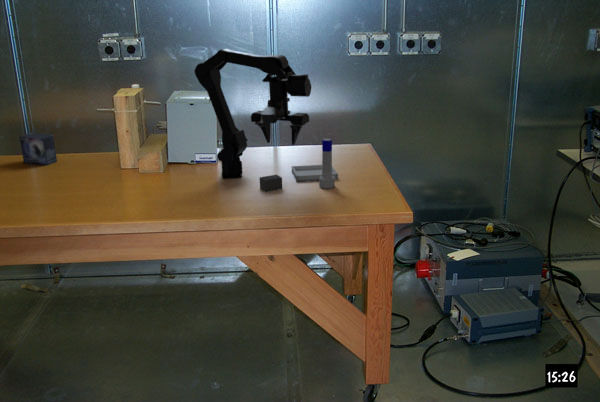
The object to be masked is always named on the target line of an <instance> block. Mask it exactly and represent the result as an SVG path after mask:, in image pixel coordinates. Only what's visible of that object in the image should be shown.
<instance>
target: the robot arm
mask: <svg viewBox="0 0 600 402" xmlns="http://www.w3.org/2000/svg"><path fill="white" fill-rule="evenodd" d="M227 64H234V65H239V66H244V67H249V68H255V69H258V70H259V71H261V72H263V73H265V74H266V75H265V77H264V78H263V79H262V82H263V83H268V88H269V91H268V92H269V99H268V100H267V105H266V107H264V109H263V110H257V111H254V112H252V113H251V115H250V122H251V123H254V125H257V126H258V127H259V128H260V130H261V132H262V134H263V135H264V139H265V141H266V144H269V143H271V124H276V123H277V122H278V121H280V122H281V121H282V122H290V124H291V125H289V128H290V129H291V145H292V146H295V145H296V142H297V140H298V136H299V134H300V132H301V129H302V128H303V126H305V125H306V124H308V123H309V122H310V115H309V114H308V113H307V112H297V113H293V114H291V110H289V102H290V101H291V100H290V97H299V98H300V97H305V98H308V97H310V96H311V93H312V83H311V80H310V78H309V74H308V73H307V74H306V73H305V74H296V73H295V71H294V70H293V68H292V67H291V66H290V64H289V60H288V59H287V57H286V56H285V55H283V54H266V55H265V54H264V55H259V54H255V53H251V52H244V51H238V50H234V49H233V50H232V49H230V48H223V49H222V48H221V49H219V50H218V51H217V52H216V53H214V54H213V55H212V56H211V57H209V58H207V59H206V60H205V61H204V62H199V63H197V65H196V66H195V68H194V75H195V78H196V79H197V81H198V83H199V84H200V86H201V87H202V88H203V89H204V90H206V92H207V95H208V98H209V100H210V103H211V105H212V108H213V111H214V113H215V116H216V119H217V122H218V124H219V127H220V130H221V143H222V147H223V148H222V149H221V150H220V151H219V152H218V153H217V154H216V156H217V159H218V161H219V162H221V178H222V179H237V178H242V175H243V162H242V160H241V157H242V156H243V153H244V152H245V151H246V149H247V147H248V139H247V137H246V134H245V131H244V129H241V130H240V129H239V128H238V127H237V126H236V124H235V121H234V119H233V116H232V113H231V110H230V108H229V106H228V105H229V104H228V103H227V99H226V97H225V95H224V91H223V89H222V84H221V82H222V76H221V70H222V69H223V68H224V67H225V66H226V65H227ZM288 95H289V96H290V97H288ZM290 114H291V115H290Z"/></svg>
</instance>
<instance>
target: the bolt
mask: <svg viewBox="0 0 600 402" xmlns="http://www.w3.org/2000/svg"><path fill="white" fill-rule="evenodd" d="M321 144H322V145H321V151H322V153H321V157H322V160H321V165H322V176H320V177H319V181H318V182H319V184H318V185H319V188H321V189H323V190H324V189H325V190H329V189H333V188H335V185H336V180H335V177H334V176H332V166H333V155H332V154H333V140H332V138H323V139H321Z"/></svg>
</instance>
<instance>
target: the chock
mask: <svg viewBox="0 0 600 402" xmlns="http://www.w3.org/2000/svg"><path fill="white" fill-rule="evenodd" d="M259 189H260V190H261V189H262V190H261V191H262V192H264V191H265V193H269V192H274V191H273V190H275V191H279V190H278V189H281V190H283V177H282V176H280V175H278V174H272V175H265V176H260V177H259ZM268 191H269V192H268Z"/></svg>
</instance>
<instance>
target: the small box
mask: <svg viewBox="0 0 600 402" xmlns="http://www.w3.org/2000/svg"><path fill="white" fill-rule="evenodd" d="M19 141H20V142H19V143H20V148H21V154H22V159H23V164H26V165H39V166H49V165H52V164H54V163H57V162H58V159H57V151H56V144H55V137H54V134H51V133H50V134H48V133H37V132H29V133H26V134H24V135H21V136H19Z"/></svg>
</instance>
